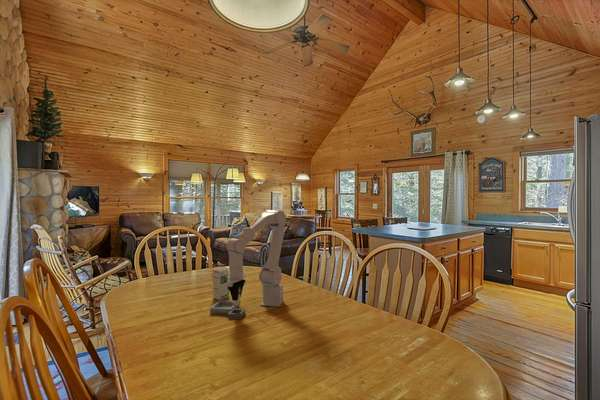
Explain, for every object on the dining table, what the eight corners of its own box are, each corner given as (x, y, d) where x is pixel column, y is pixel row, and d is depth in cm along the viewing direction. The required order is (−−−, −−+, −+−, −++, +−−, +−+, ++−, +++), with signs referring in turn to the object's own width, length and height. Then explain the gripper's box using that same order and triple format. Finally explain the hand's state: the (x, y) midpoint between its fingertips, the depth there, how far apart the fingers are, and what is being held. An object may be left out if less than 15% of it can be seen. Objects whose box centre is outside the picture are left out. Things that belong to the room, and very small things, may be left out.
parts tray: (239, 307, 141) (239, 301, 141) (230, 315, 132) (230, 309, 132) (219, 305, 143) (219, 300, 143) (210, 313, 133) (210, 307, 133)
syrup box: (220, 300, 151) (219, 270, 150) (212, 297, 154) (212, 269, 154) (229, 297, 155) (228, 268, 155) (221, 294, 159) (221, 266, 158)
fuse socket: (245, 314, 133) (245, 309, 133) (240, 319, 127) (240, 314, 127) (233, 313, 134) (233, 308, 134) (227, 318, 128) (227, 313, 128)
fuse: (241, 303, 132) (241, 287, 132) (238, 306, 129) (238, 289, 128) (234, 302, 132) (234, 286, 132) (231, 305, 129) (231, 289, 129)
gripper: (234, 262, 138) (234, 292, 138) (219, 270, 124) (220, 304, 124) (249, 263, 137) (249, 293, 137) (236, 271, 122) (236, 305, 123)
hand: (236, 298), depth 130 cm, fingers closed on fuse, 3 cm apart
